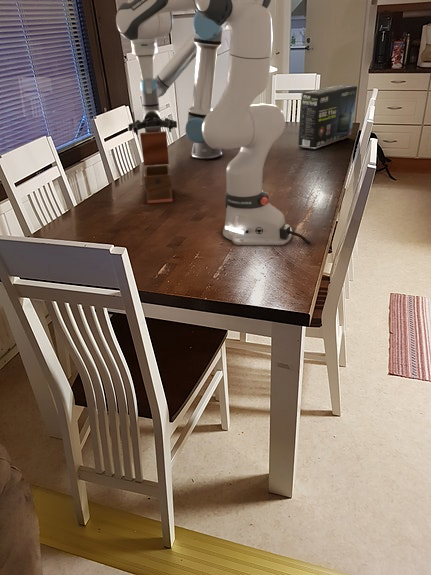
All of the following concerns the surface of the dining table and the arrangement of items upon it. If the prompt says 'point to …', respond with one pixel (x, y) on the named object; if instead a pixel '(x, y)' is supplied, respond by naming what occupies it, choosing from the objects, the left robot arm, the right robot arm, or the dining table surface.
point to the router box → (326, 115)
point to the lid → (154, 146)
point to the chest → (158, 183)
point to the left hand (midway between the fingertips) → (153, 130)
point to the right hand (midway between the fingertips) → (149, 91)
